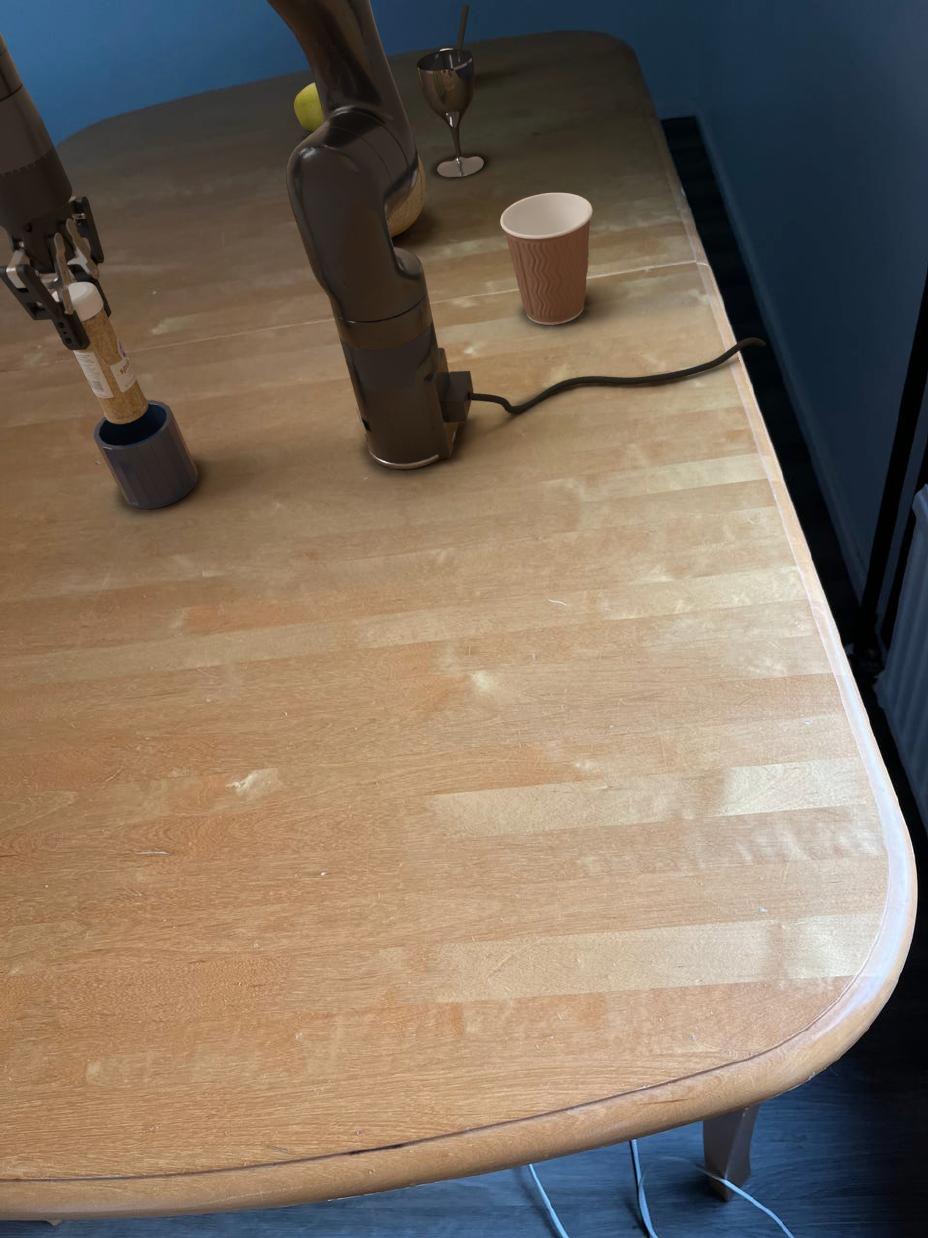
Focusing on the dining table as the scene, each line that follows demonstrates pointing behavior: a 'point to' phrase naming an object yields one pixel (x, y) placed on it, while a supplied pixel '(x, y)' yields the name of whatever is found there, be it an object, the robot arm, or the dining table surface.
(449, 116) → the wine glass
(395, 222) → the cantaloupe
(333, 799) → the dining table surface
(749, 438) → the dining table surface
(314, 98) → the apple
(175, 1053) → the dining table surface
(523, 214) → the coffee cup
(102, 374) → the sprinkles bottle
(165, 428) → the holder cup
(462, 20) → the dark thin bar
